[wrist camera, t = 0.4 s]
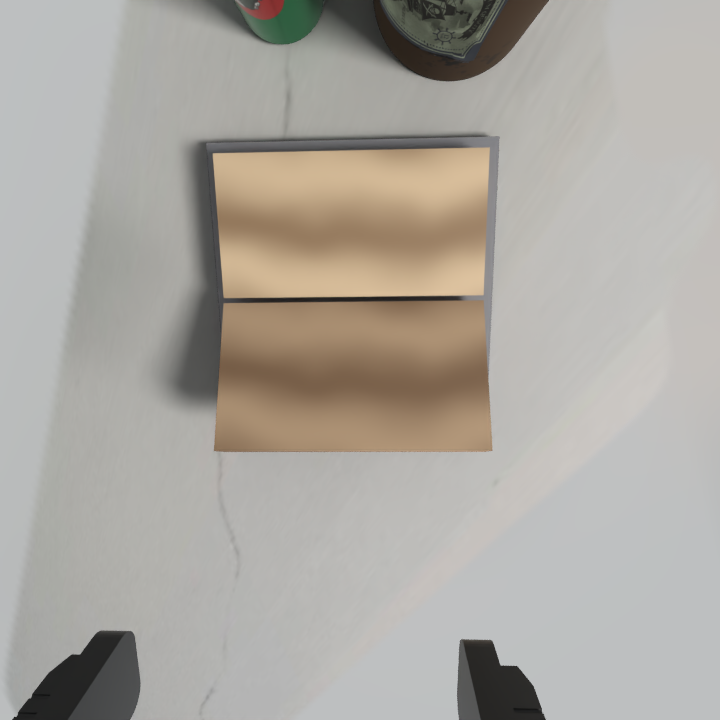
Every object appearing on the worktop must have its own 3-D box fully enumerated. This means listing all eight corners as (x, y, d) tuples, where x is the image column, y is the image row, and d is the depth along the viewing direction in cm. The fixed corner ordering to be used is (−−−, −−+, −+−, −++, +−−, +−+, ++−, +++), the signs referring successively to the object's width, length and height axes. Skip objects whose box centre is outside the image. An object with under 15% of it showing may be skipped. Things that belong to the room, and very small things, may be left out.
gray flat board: (211, 146, 31) (206, 142, 30) (495, 140, 30) (499, 136, 29) (233, 440, 35) (229, 445, 34) (482, 439, 34) (485, 445, 33)
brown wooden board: (233, 313, 32) (223, 303, 30) (476, 310, 31) (483, 300, 29) (224, 451, 30) (214, 450, 28) (484, 451, 29) (492, 450, 27)
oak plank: (223, 159, 30) (212, 153, 28) (482, 154, 29) (489, 147, 27) (233, 295, 32) (223, 298, 30) (476, 292, 31) (483, 295, 29)
